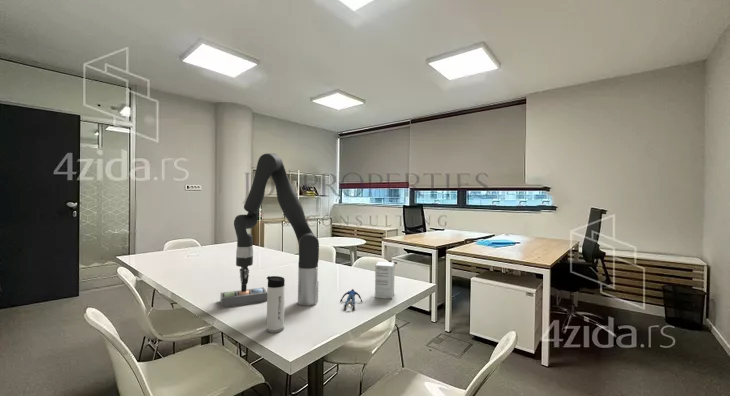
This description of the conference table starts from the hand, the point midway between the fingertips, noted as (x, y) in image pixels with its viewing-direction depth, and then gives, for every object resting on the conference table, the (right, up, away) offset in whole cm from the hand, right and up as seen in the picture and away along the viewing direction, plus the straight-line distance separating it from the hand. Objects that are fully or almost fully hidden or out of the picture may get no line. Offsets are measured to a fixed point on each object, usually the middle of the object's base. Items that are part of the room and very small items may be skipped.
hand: (243, 291), depth 141 cm
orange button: (0, -4, 0) cm, 4 cm away
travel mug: (+24, -5, -30) cm, 39 cm away
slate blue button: (+6, -4, +3) cm, 7 cm away
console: (0, -5, 0) cm, 5 cm away
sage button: (-6, -3, -3) cm, 7 cm away
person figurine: (+52, -6, -2) cm, 52 cm away
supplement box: (+69, -6, +12) cm, 70 cm away
